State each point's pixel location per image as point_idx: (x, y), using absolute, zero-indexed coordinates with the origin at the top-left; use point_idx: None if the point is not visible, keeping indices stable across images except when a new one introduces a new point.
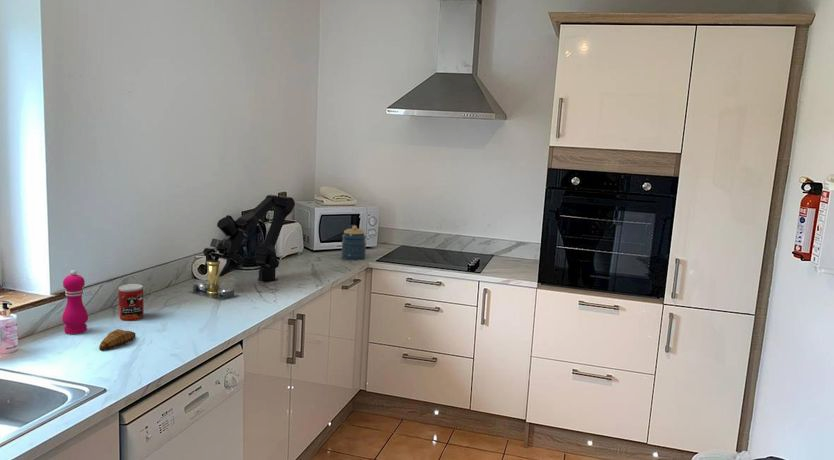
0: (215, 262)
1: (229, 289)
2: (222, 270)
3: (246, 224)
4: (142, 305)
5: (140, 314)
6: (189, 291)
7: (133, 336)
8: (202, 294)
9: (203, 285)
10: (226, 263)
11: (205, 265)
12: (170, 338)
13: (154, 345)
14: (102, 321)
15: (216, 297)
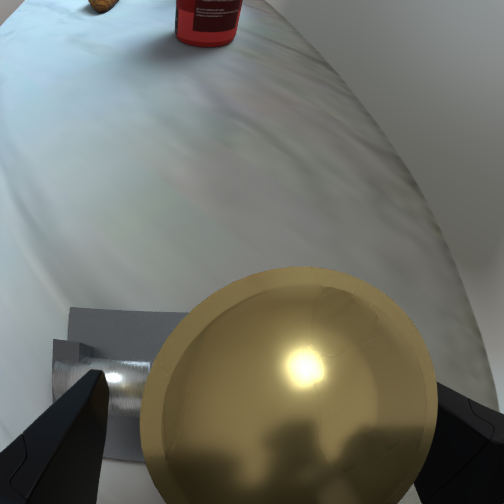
0: (164, 381)
1: (58, 388)
2: (67, 407)
3: None
4: (178, 10)
5: (175, 26)
6: None
7: (91, 5)
8: None
9: None
10: (10, 495)
11: (439, 390)
12: (38, 38)
13: (49, 23)
14: None
15: (127, 327)
